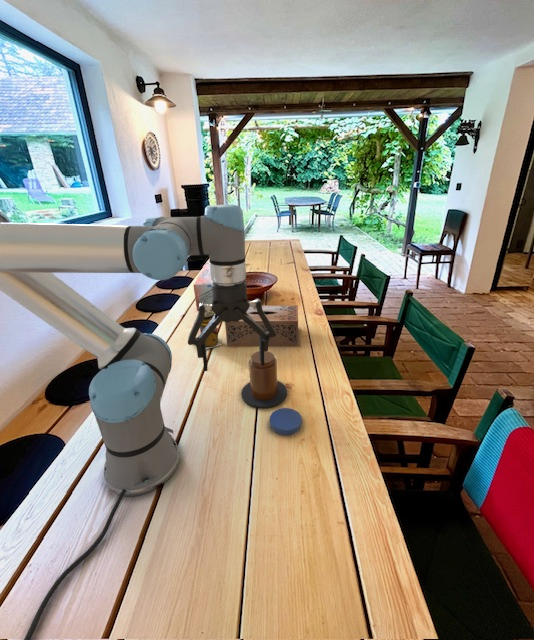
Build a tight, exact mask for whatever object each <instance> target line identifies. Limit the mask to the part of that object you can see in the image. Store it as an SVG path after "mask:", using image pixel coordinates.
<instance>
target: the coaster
mask: <svg viewBox="0 0 534 640" xmlns="http://www.w3.org/2000/svg"><path fill="white" fill-rule="evenodd" d="M277 387H278V392H277V395H276V396H275V397H273V398H272V399H269V400H258V399H256V398H254V397H253V396H252V395H251V387H250V382H247V384H245V385H244V386H243V388H242V389H241V393H240V395H241V399H242V401H243V402H244V403H245V405H248V406H250V407H252V408H255V409H264V410H265V409H272V408H275V407H278V406H279V405H281V404H282V403H283V402H285V400H286V399H287V397H288V388H287V387H286V385H285V384H283V383H282V382H281V381H280V380H277Z"/></svg>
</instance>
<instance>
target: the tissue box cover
mask: <svg viewBox="0 0 534 640" xmlns="http://www.w3.org/2000/svg"><path fill="white" fill-rule="evenodd" d="M262 310H263V311H264V313H265V315H266V316H267V318H268V320H269V322H270V323H271V325H272V327H273V329H274V331H275V333H276V336H275V337H271V338H269V341H268V347H299V305H298V304H297V305H293V304H292V305H291V304H290V305H282V304H281V305H262ZM247 313H248V314H249V316H250V317H251V318H252V319H253V320H254V321H255V322H256V323H257V324H259V325H260V326H261V327H262V328H263V329H264V330H265V331H268V330H267V328H266V326H265V324H264V323H263V321H262V319H261V318H260V316H259V314H258V312H257V310H254V309H253V308H252V307H249V309H248V310H247ZM224 326H225V335H226V345H227V347H259V336H260V335H259V334H258V333H257V332H255V331H254V330H253V329H252V328H251V327H250V326H249V325H248V324H247V323H245V322H244V321H243V320H242V319H241V320H239V322H233V321H231V322H227V323H225V322H224Z"/></svg>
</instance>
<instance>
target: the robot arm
mask: <svg viewBox="0 0 534 640" xmlns="http://www.w3.org/2000/svg"><path fill="white" fill-rule="evenodd" d="M243 212H244V210H243V209H242V208H241V206H239V205H237V204H211V205H207V206H206V207H205V208H204V214H203V215H201V216H168V217H167V216H158V217H150V218H149V217H148V218H145V220H144V221H143V224H142V225H108V224H73V223H72V224H70V223H69V224H67V223H28V222H23V223H22V222H12V221H11V219H10V218H9V216H8V215H7V214H6V213H5V212H4V211H2V210H1V209H0V292H1V293H3V294H5V295H6V296H8V297H9V298H10V299H11V300H13V301H15V302H16V303H17V304H18V305H20V306H22V307H23V308H25V309H26V310H28V311H29V312H31V313H32V314H33V315H34V316H36V317H37V318H38V319H40V320H42V321H43V322H45V323H46V324H47V325H48V326H51V327H52V328H53V329H55V330H56V331H58V332H59V333H60V334H62V335H63V336H64V337H66V338H67V339H69V340H70V341H72V342H73V343H75V344H76V345H77V346H79V347H80V348H82V349H83V350H85V351H86V352H88V353H89V354H90V355H92V356H93V357H95V358H96V360H97V367H98V369H99V370H100V371H99V372H98V373H96V375H94V376H93V377H92V380H91V382H90V384H89V387H88V396H89V405H90V408H91V411H92V413H93V415H94V419H95V421H96V423H97V426H98V430H99V432H100V435H101V438H102V441H103V443H104V447H105V449H106V450H105V462H104V465H103V466H104V467H103V476H104V480H105V482H106V485H107V487H108V488H109V490H110V491H112V492H113V493H114V494H115V495H118V498H117V499H116V501H115V503H114V505H113V507H112V509H111V511H110V513H109V516H108V517H107V520H106V522H105V525H104V527H103V529H102V531H101V533H100V534H99V535H98V537H97V538H96V540H95V541H94V542H93V543H92V545H91V546H89V548H88V549H87V550H86V551H85V552H84V553H83V554H81V555H80V556H79V557H78V558H76V560H74V562H72V563H71V564H70V565H69V566H68V567H67V568H66V569H65V570H64V571H63V572H62V573H61V574H60V575H59V577H58V578H57V579H56V581H54V583H53V584H52V586H51V587H50V589H49V590H48V592H47V593H46V595H45V596H44V598H43V600H42V602H41V603H40V605H39V607H38V609H37V611H36V613H35V615H34V617H33V619H32V622H31V623H30V625H29V627H28V628H29V629H28V630H27V632H26V634H25V637H24V639H23V640H32V638H33V636H34V633H35V631H36V629H37V627H38V624H39V622H40V620H41V618H42V615H43V613H44V611H45V609H46V607H47V606H48V604H49V602H50V600H51V598H52V597H53V595H54V593H55V592H56V591H57V589H58V588H59V587H60V585H61V584H62V583H63V581H64V580H65V579H66V578H67V577H68V575H70V574H71V572H73V570H74V569H76V567H78V566H79V565H80V564H81V563H82V562H83V561H84V560H86V559H87V558H88V557H89V556H90V555H91V554H92V553H93V552H94V551H95V549H96V548H97V547H98V546H99V545H100V544H101V542H102V541H103V539H104V538H105V536H106V534H107V533H108V531H109V528H110V526H111V523H112V522H113V519H114V517H115V514H116V513H117V511H118V508H119V506H120V504H121V502H122V501H123V499H124V497H137V496H141V495H145V494H148V493H150V492H152V491H155V490H157V489H158V488H159V487H161V486H162V485H164V484H165V483H167V482H168V480H170V478H171V477H172V476H173V475H174V474H175V472H176V470H177V469H178V466H179V464H180V457H181V456H180V455H181V454H180V450H179V445H178V443H177V441H176V440H175V438H174V437H173V436H172V435H174V434H175V433H174V429H171V428H170V427H167V426H166V425H165V421H164V417H163V413H162V407H161V401H162V398H163V393H164V390H165V389H166V384H167V381H168V378H169V374H170V373H171V371H172V367H173V365H172V364H173V363H172V362H173V354H172V353H173V352H172V350H171V348H170V346H169V344H168V343H167V342H166V341H165V340H164V339H163V338H162V337H160V336H158V335H156V334H153V333H147V332H146V333H145V332H144V333H142V332H141V331H140V330H138V329H137V328H135V327H127V328H126V327H123V326H122V325H121V324H119V322H117V321H116V320H115V319H113V318H111V317H110V316H109V315H108V314H107V313H106V312H104V311H103V310H102V309H100V308H99V307H97V306H96V305H94V304H93V303H92V302H91V301H90V300H88V299H87V298H86V297H84V295H81V293H79V292H78V291H76V290H75V289H74V288H73V287H71V286H70V285H69V284H68V283H66V282H65V281H63V279H61V278H60V277H58V276H57V275H56V274H55V273H57V274H141V275H143V276H144V277H147V278H149V279H151V280H155V281H167V280H169V279H172V278H174V277H175V276H176V275H177V274H178V273H180V272H181V270H182V269H183V268H184V267H185V266H186V263H187V262H188V257H189V256H205V255H208V257H209V258H208V259H209V263H210V273H211V280H212V281H213V283H212V296H213V302H212V304H204V303H203V302H201V303H200V304H199V310H198V313H197V316H196V318H195V320H194V322H193V325H192V328H191V330H190V332H189V334H188V337H187V345H189V346H195V347H196V355H197V358H198V359H201V358H202V363H203V372H208V371H209V370H208V369H209V368H208V358H207V349H206V346H205V340H206V339H207V338H208V336H209V335H210V334H211V333H212V331H213V330H214V329H215V328H216V326H217V327H218V326H219V325H220V324H221V323H222V322H224V324H225V323H227V322H231V321H233V322H239V320H241V319H242V320H243V321H244V322H245V323H247V324H248V325H249V326H250V327H251V328H252V329H253V330H254V331H255V332H257V333H258V334H259V335H260V336H259V346H258V347H259V353H260V362H261V365H264V351H268V352H269V346H268V341H269V338H271V337H275V336H276V333H275V331H274V329H273V327H272V325H271V323H270V322H269V320H268V318H267V316H266V315H265V313H264V311H263V310H262V306H263V305H262V301H261V299H260V298H259V297H255V298H254V300H248V288H247V287H248V286H247V281H246V279H247V266H246V235H245V234H246V233H245V231H246V230H245V222H244V213H243ZM249 307H252V308H253V309H254V310H257V312H258V314H259V316H260V318H261V319H262V321H263V323H264V324H265V326H266V328H267V330H268V331H265V330H264V329H263V328H262V327H261V326H260V325H259V324H257V323H256V322H255V321H254V320H253V319H252V318H251V317H250V316H249V314H248V313H247V310H248V309H249ZM210 311H211V312H213V313H214V316H213V318H212V320H211V321H210V322H209V324H208V325H207V326H206V327H205V329H204V330H203V331H202V332H200V334H199V335H198V333H199V331H200V326H201V324H202V322H203V319H204V316H205V314H208V312H210ZM197 335H198V336H197ZM171 434H172V435H171Z"/></svg>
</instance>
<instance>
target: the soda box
mask: <svg viewBox="0 0 534 640" xmlns="http://www.w3.org/2000/svg"><path fill="white" fill-rule="evenodd" d="M201 269H202V270H201V271H200V273H199V275H198V277H197V278H196V281H194V284H193V292H194V298H195V306H196V310H197V311H199V304H200V303H201V302H203V303H204V304H212V302H213V296H212V283H213V281H212V280H211V273H210V262H208V263H205V264H204V266H203V268H201Z"/></svg>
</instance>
